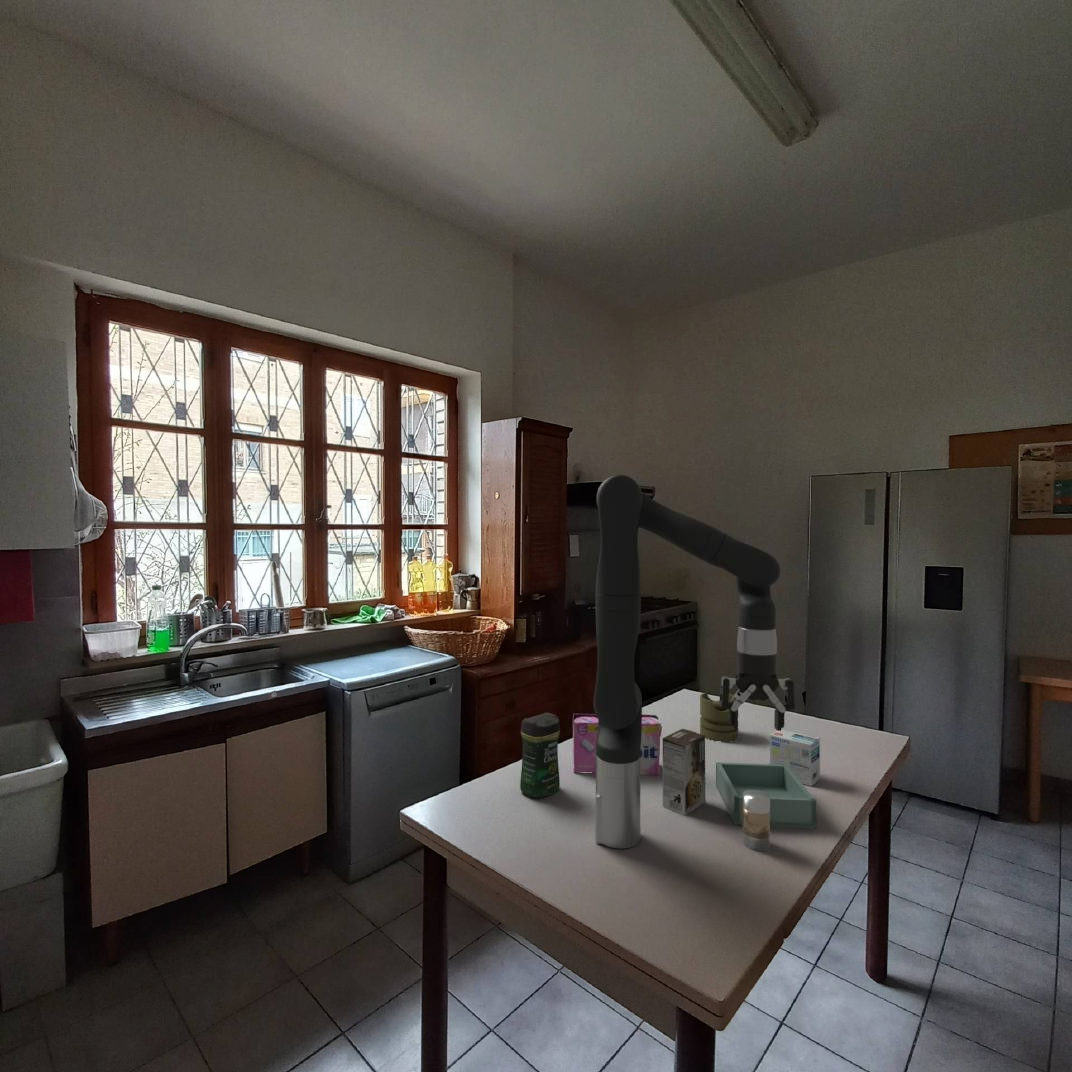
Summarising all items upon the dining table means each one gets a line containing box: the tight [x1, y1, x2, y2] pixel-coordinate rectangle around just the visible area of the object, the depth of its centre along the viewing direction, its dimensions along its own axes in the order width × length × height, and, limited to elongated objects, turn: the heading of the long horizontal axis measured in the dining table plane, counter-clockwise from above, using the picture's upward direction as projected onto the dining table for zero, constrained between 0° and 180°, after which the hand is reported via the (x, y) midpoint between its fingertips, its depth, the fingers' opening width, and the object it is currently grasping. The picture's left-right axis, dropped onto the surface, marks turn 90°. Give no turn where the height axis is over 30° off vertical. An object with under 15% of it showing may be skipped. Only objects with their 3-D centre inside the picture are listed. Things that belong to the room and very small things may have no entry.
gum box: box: [572, 713, 663, 776], centre depth 156 cm, size 24×8×14 cm, turn 87°
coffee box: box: [662, 728, 707, 816], centre depth 136 cm, size 9×6×16 cm
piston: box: [699, 692, 739, 743], centre depth 181 cm, size 11×12×11 cm
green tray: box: [715, 761, 817, 829], centre depth 135 cm, size 17×19×6 cm
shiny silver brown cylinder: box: [741, 790, 771, 852], centre depth 119 cm, size 5×5×10 cm
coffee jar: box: [519, 712, 561, 799], centre depth 143 cm, size 10×8×19 cm
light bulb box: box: [769, 728, 821, 787], centre depth 151 cm, size 11×7×11 cm, turn 47°
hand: (756, 728), depth 119 cm, fingers open, 8 cm apart
